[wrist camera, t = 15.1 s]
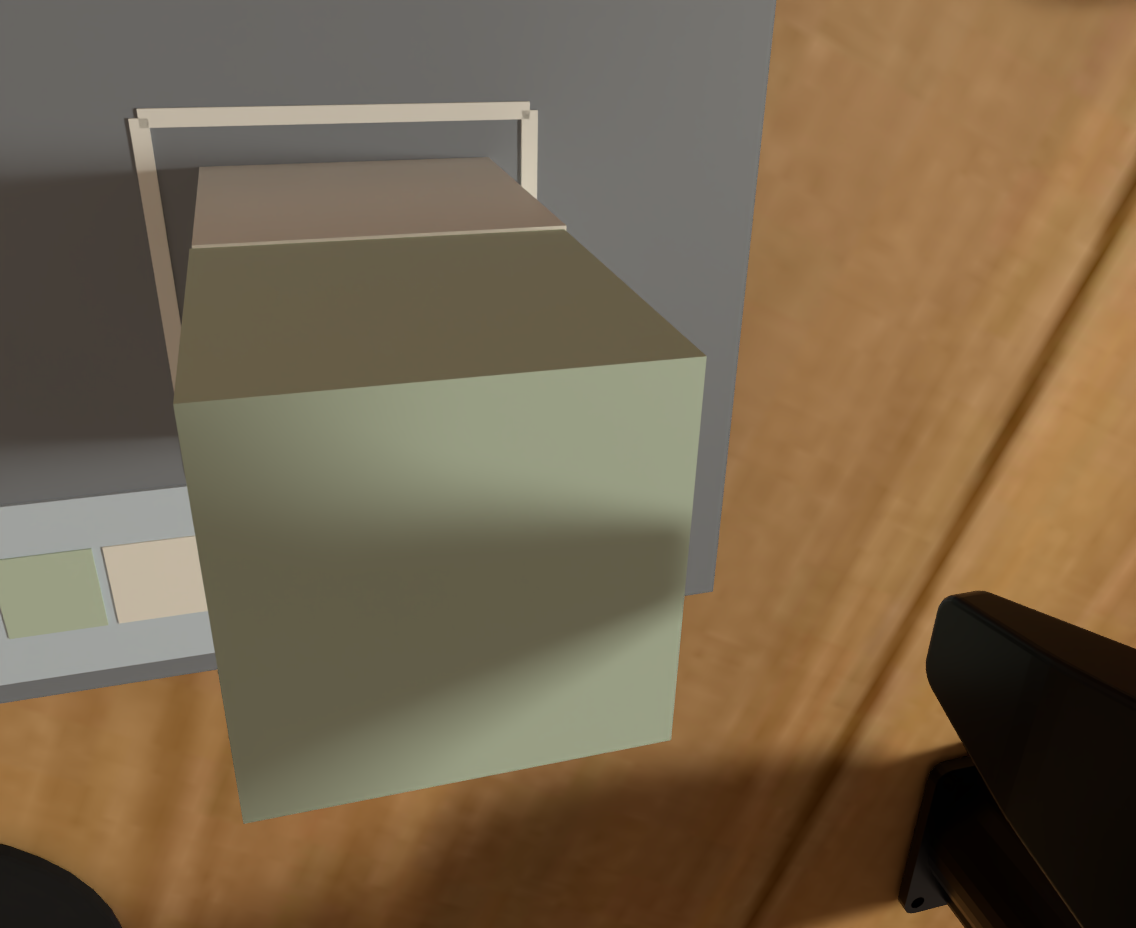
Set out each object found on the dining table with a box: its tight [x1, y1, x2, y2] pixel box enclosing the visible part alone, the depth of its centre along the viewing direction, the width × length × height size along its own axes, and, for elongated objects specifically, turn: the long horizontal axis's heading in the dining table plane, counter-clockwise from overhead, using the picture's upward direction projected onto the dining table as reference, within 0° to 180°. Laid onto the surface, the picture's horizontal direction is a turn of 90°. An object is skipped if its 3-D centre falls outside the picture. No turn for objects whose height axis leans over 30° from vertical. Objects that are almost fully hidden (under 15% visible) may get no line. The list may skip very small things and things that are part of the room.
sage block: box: [173, 229, 707, 824], centre depth 13 cm, size 5×5×5 cm
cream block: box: [192, 157, 566, 248], centre depth 17 cm, size 5×5×5 cm
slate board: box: [0, 0, 776, 703], centre depth 20 cm, size 16×16×1 cm
